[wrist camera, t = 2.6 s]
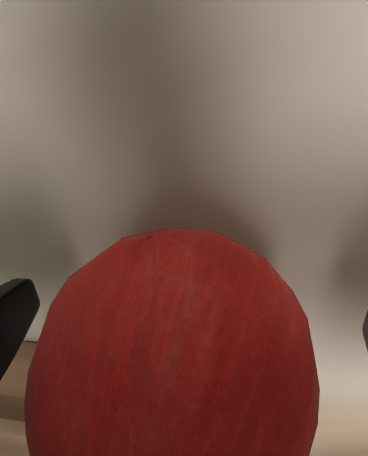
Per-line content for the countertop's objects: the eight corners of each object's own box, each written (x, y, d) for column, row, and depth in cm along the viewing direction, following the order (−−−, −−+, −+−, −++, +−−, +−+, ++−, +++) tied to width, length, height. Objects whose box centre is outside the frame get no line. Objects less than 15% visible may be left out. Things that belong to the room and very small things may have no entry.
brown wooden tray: (186, 475, 17) (176, 555, 14) (29, 449, 18) (-8, 516, 16) (175, 356, 12) (157, 442, 9) (-34, 335, 14) (-103, 402, 11)
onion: (267, 338, 11) (322, 816, 4) (117, 314, 12) (-64, 687, 5) (307, 191, 8) (748, 944, 1) (107, 171, 9) (-404, 567, 2)
